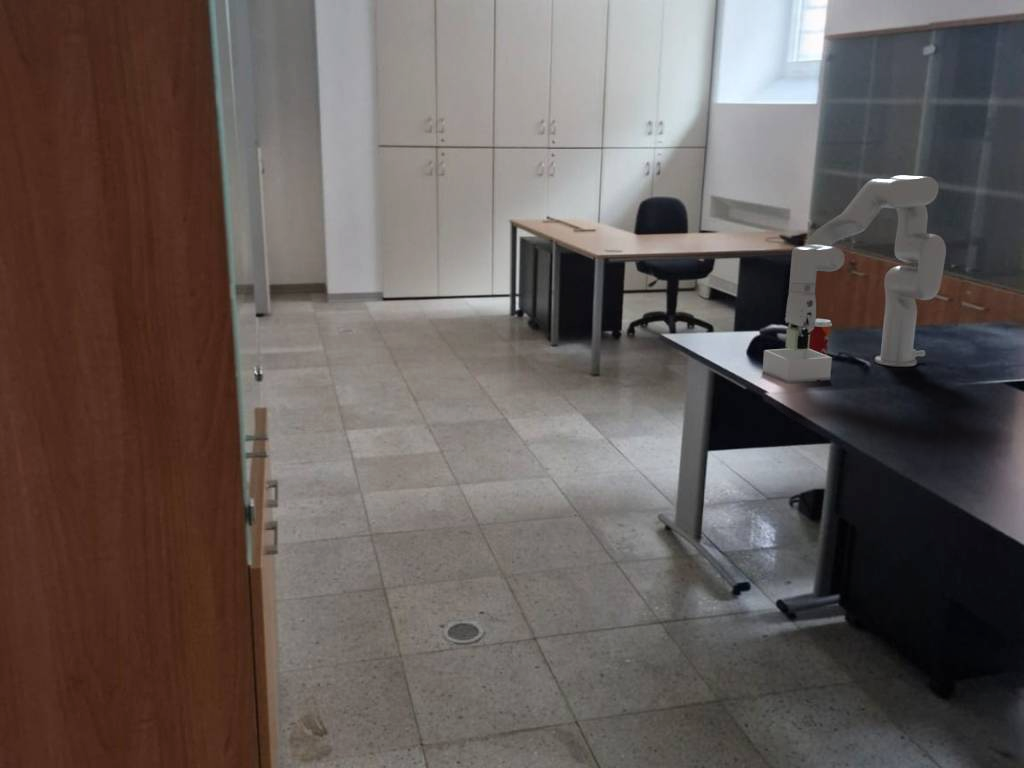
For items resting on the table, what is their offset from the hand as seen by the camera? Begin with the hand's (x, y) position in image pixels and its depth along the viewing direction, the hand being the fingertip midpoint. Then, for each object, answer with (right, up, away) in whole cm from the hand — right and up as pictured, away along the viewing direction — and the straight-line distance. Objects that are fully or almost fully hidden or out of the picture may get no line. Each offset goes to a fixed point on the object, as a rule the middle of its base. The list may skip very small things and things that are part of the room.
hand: (797, 346), depth 277 cm
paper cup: (+13, -5, +19) cm, 24 cm away
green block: (0, -1, 0) cm, 1 cm away
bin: (0, -9, +3) cm, 9 cm away
